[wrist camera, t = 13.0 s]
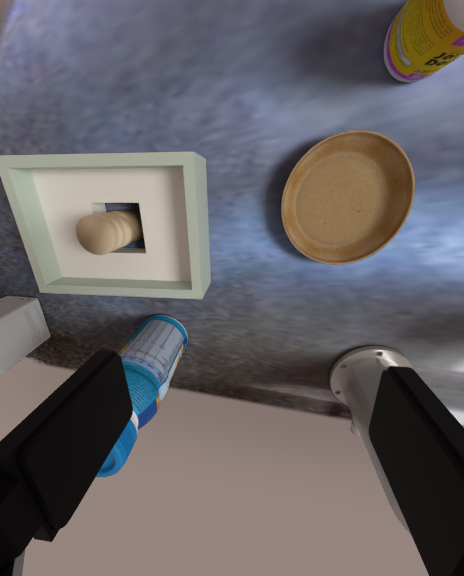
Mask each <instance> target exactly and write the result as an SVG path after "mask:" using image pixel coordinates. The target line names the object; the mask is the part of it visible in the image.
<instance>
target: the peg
mask: <svg viewBox="0 0 464 576" xmlns="http://www.w3.org/2000/svg"><path fill="white" fill-rule="evenodd" d="M76 235H77V238H78V241H79V242H80V244H81V245H82V247H83V248H84V249H85V250H87V251H88V252H90V253H92V254H95V255H105V254H107V253H109V252H112V251H114V250H116V249H119V248H121V247H123V246H126V245H128V244H130V243H133V242H135V241H137V240H139V239H141V238H142V237H143V236H144V234H143V228H142V221H141V215H140V214H139V213H137V212H136V211H134V210H130V209H125V210H119V211H112V212H106V213H100V214H93V215H87V216H84V217H82V218H81V219H80V220H79V221H78V223H77V226H76Z"/></svg>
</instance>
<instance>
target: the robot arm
mask: <svg viewBox="0 0 464 576" xmlns="http://www.w3.org/2000/svg"><path fill="white" fill-rule="evenodd" d="M329 382H330V387H331V389H332V392H333V394H334V395H335V397H336V398H337V399H338V400H339V401H340V402H342V403H343V404H345V405H347V406H349V408H350V411H351V413H352V417H353V420H352V423H351V427H350V430H351V432H352V433H353V434H354V435H356V436H361V437H362V439H363V442H364V444H365V447H366V449H367V451H368V454H369V456H370V459H371V461H372V463H373V466H374V468H375V470H376V473H377V475H378V478H379V480H380V483H381V485H382V487H383V490H384V492H385V494H386V496H387V499H388V501H389V504H390V506H391V508H392V510H393V511H394V513H395V515H396V517H397V518H398V520H399V521H400V522H401V523H402V525H403V526H404V528H405V529H406V530H407V531H408V532H409V533H410V534H411V535H412V537H413V540H414V542H415V544H416V546H417V549H418V551H419V553H420V555H421V558H422V560H423V562H424V565H425V567H426V569H427V572H428V574H429V576H464V428H463V427H462V425H461V424H460V423H459V422H458V421H457V420H456V419H455V417H454V416H453V415H452V414H451V413H450V412H449V410H448V409H447V408H446V407H445V406H444V405H443V403H442V402H441V401H440V400H439V399H438V398H437V396H436V395H435V394H434V393H433V392H432V391H431V390H430V388H429V387H428V386H427V385H426V384H425V383H424V381H423V380H422V379H421V378H420V377H419V376H418V374H417V373H416V372H415V371H414V370H413V367H412V365H411V364H410V362H409V361H408V360H407V359H406V357H405V356H404V355H402V354H401V353H400V352H398V351H396V350H394V349H392V348H388V347H384V346H366V347H361V348H358V349H355V350H352V351H350V352H348V353H347V354H345V355H343V356H342V357H341V358H340V359H339V360H338V361H337V362H336V363H335V364H334V366H333V367H332V369H331V372H330V375H329ZM132 414H133V405H132V401H131V397H130V393H129V388H128V384H127V380H126V376H125V371H124V367H123V363H122V359H121V356H120V355H118V354H117V352H116V351H105V350H100V351H98V352H96V353H95V354H94V355H93V356H92V357H91V358H90V359H89V360H88V361H87V362H85V363H84V364H83V365H82V366H81V367H80V368H79V369H78V370H77V371H76V372H75V373H74V374H73V375H71V376H70V378H68V379H67V380H66V381H65V382H64V383H63V384H62V385H61V386H60V387H59V388H57V390H55V391H54V392H53V393H52V394H51V395H50V396H49V397H48V398H47V399H46V400H44V402H42V403H41V404H40V405H39V406H38V407H37V408H36V409H35V410H34V411H33V412H32V413H30V414H29V415H28V416H27V417H26V418H25V419H24V420H23V421H22V422H21V423H20V424H19V425H18V426H16V427H15V428H14V429H13V430H12V431H11V432H10V433H9V434H8V435H7V436H6V437H5V438H4V439H2V440H1V441H0V576H22V571H23V563H24V555H25V548H26V547H27V545H28V544H29V542H30V541H31V539H32V538H33V537H34V539H38V540H44V541H49V542H52V541H53V539H54V537H55V536H56V534H57V532H58V531H59V529H60V528H63V527H64V526H65V525H66V524H67V523H68V521H69V520H70V518H71V517H72V515H73V513H74V512H75V510H76V509H77V507H78V505H79V504H80V502H81V500H82V499H83V497H84V495H85V493H86V492H87V490H88V488H89V487H90V485H91V484H92V482H93V480H94V479H95V477H96V475H97V474H98V472H99V470H100V469H101V467H102V465H103V464H104V462H105V460H106V459H107V457H108V455H109V454H110V452H111V450H112V449H113V447H114V445H115V444H116V442H117V440H118V439H119V437H120V435H121V434H122V432H123V431H124V429H125V427H126V426H127V424H128V422H129V421H130V419H131V417H132Z"/></svg>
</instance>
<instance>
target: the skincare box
mask: <svg viewBox="0 0 464 576" xmlns="http://www.w3.org/2000/svg"><path fill="white" fill-rule="evenodd" d="M50 337H51V335H50V332H49V330H48V327H47V324H46V321H45V318H44V315H43V312H42V309H41V306H40V303H39V300H38V298H29V297H19V296H6V297H3V298H1V299H0V376H1V375H2V374H3V373H5V372H6V371H7V370H8V369H10V368H11V367H12V366H14V365H15V364H16V363H17V362H19V361H20V360H21V359H22V358H24V357H25V356H26V355H28V354H29V353H30V352H32V351H33V350H34V349H35V348H37V347H38V346H39V345H41V344H42V343H43V342H44V341H46V340H47V339H48V338H50Z"/></svg>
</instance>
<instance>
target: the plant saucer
mask: <svg viewBox="0 0 464 576" xmlns="http://www.w3.org/2000/svg"><path fill="white" fill-rule="evenodd" d="M414 191H415V180H414V173H413V169H412V166H411V163H410V161H409V159H408V157H407V156H406V154H405V152H404V151H403V150H402V148H401V147H400V146H399V145H398V144H397V143H395V142H394V141H393V140H391V139H390V138H388V137H386V136H384V135H382V134H380V133H377V132H373V131H366V130H352V131H346V132H342V133H338V134H335V135H333V136H330V137H328V138H326V139H324V140H322V141H321V142H319V143H318V144H316V145H315V146H313V147H312V148H311V149H310V150H309V151H308V152H307V153H306V154H305V155H303V157H302V158H301V159H300V160H299V161H298V163H297V164H296V165H295V167H294V169H293V170H292V172H291V174H290V176H289V178H288V180H287V182H286V185H285V187H284V191H283V195H282V202H281V215H282V222H283V226H284V229H285V232H286V234H287V236H288V238H289V240H290V241H291V243H292V244H293V245H294V247H295V248H296V249H297V250H298V251H299V252H301V253H302V254H303V255H305V256H306V257H308V258H310V259H312V260H314V261H317V262H320V263H324V264H331V265H341V264H350V263H354V262H357V261H361V260H363V259H365V258H368V257H370V256H372V255H373V254H375V253H377V252H378V251H380V250H381V249H382V248H384V247H385V246H386V245H387V244H388V243H389V242H390V241H391V240H392V239H393V238H394V237H395V236H396V234H397V233H398V232H399V231H400V229H401V228H402V226H403V225H404V223H405V221H406V219H407V217H408V215H409V212H410V210H411V207H412V203H413V198H414Z"/></svg>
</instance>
